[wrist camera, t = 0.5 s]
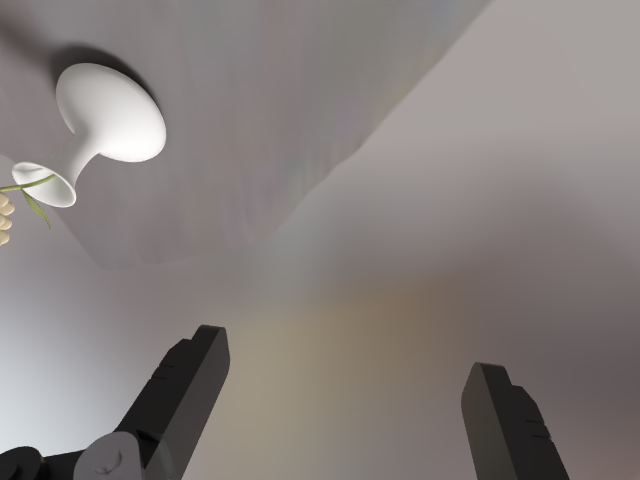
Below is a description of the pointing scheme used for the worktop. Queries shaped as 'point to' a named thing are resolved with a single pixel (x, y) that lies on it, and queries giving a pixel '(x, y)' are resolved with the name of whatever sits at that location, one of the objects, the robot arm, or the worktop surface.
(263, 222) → the worktop surface
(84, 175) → the worktop surface
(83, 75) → the flower in vase
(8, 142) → the worktop surface
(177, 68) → the worktop surface
